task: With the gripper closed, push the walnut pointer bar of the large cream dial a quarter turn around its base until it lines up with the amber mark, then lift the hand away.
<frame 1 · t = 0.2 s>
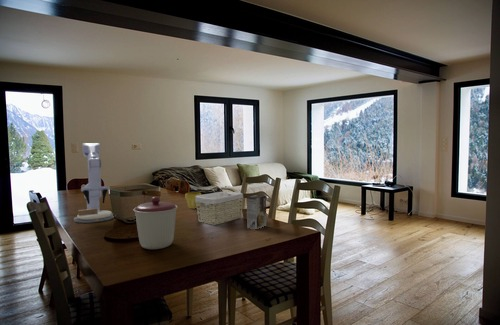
hand: (96, 203, 186), 10 cm above the table, tool pointing down, fingers open, 7 cm apart
canister: (156, 246, 140), on the table
plant pot: (193, 208, 221), on the table
dial: (94, 212, 192), point 3 cm above the table, hinge at -90.0°
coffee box: (256, 227, 169), on the table
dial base: (94, 218, 192), on the table
storage basket: (220, 220, 186), on the table
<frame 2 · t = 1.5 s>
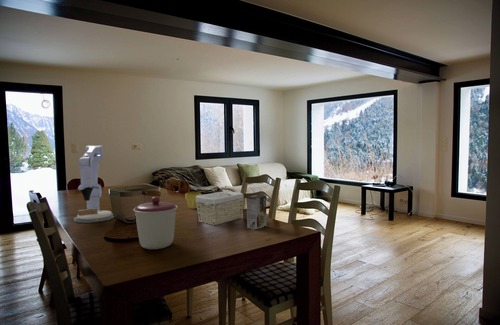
hand: (87, 200, 194), 10 cm above the table, tool pointing down, fingers closed
nothing on the table moved.
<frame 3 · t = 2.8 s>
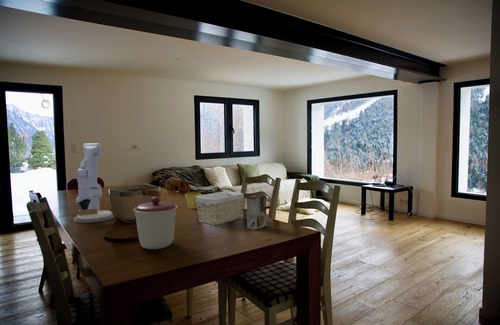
hand: (84, 212, 192), 4 cm above the table, tool pointing down, fingers closed, pressing on dial
dial: (94, 212, 192), point 3 cm above the table, hinge at -90.0°, touching gripper
everything else where it was.
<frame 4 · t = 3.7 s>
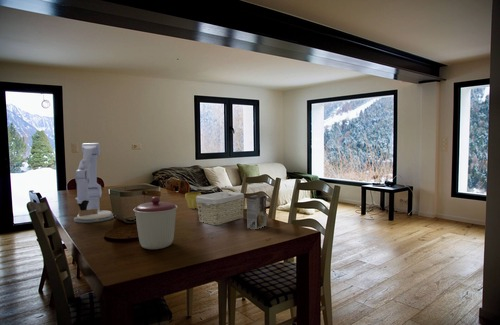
hand: (83, 213, 189), 4 cm above the table, tool pointing down, fingers closed, pressing on dial
dial: (94, 212, 192), point 3 cm above the table, hinge at -72.3°, touching gripper
everything else where it was.
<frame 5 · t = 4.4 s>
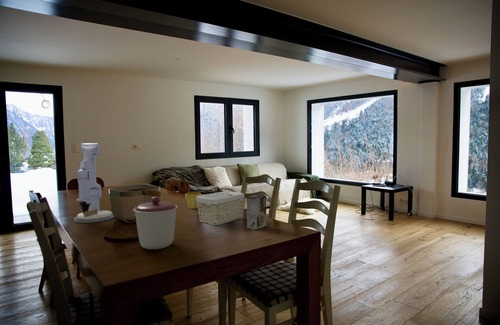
hand: (85, 214, 187), 4 cm above the table, tool pointing down, fingers closed, pressing on dial
dial: (94, 212, 192), point 3 cm above the table, hinge at -39.4°, touching gripper
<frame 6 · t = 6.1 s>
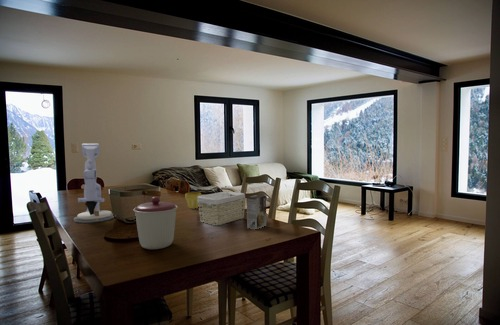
hand: (91, 214, 186), 4 cm above the table, tool pointing down, fingers closed, pressing on dial
dial: (94, 212, 192), point 3 cm above the table, hinge at 3.9°, touching gripper
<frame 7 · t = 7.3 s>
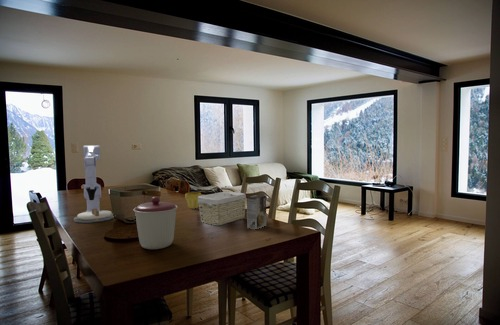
hand: (91, 200, 195), 10 cm above the table, tool pointing down, fingers closed
dial: (94, 212, 192), point 3 cm above the table, hinge at 4.0°
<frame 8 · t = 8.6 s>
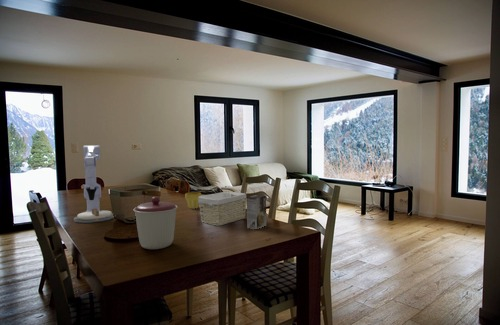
hand: (91, 200, 195), 10 cm above the table, tool pointing down, fingers closed
at the end: dial at +4° (first picture: -90°) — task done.
